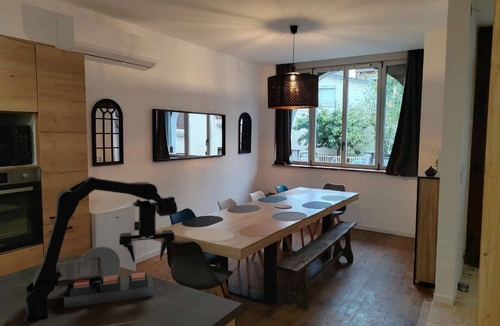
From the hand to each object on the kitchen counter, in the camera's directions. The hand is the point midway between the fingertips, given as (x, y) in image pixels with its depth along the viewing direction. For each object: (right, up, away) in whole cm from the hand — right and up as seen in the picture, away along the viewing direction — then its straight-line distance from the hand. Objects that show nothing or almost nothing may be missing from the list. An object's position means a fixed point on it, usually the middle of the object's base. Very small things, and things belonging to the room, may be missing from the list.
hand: (147, 260), depth 127 cm
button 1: (-3, -7, -2) cm, 8 cm away
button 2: (-11, -7, -5) cm, 14 cm away
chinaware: (-20, -8, +10) cm, 24 cm away
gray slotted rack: (-12, -11, -4) cm, 16 cm away
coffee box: (-31, -4, -7) cm, 32 cm away
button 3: (-19, -8, -9) cm, 23 cm away
